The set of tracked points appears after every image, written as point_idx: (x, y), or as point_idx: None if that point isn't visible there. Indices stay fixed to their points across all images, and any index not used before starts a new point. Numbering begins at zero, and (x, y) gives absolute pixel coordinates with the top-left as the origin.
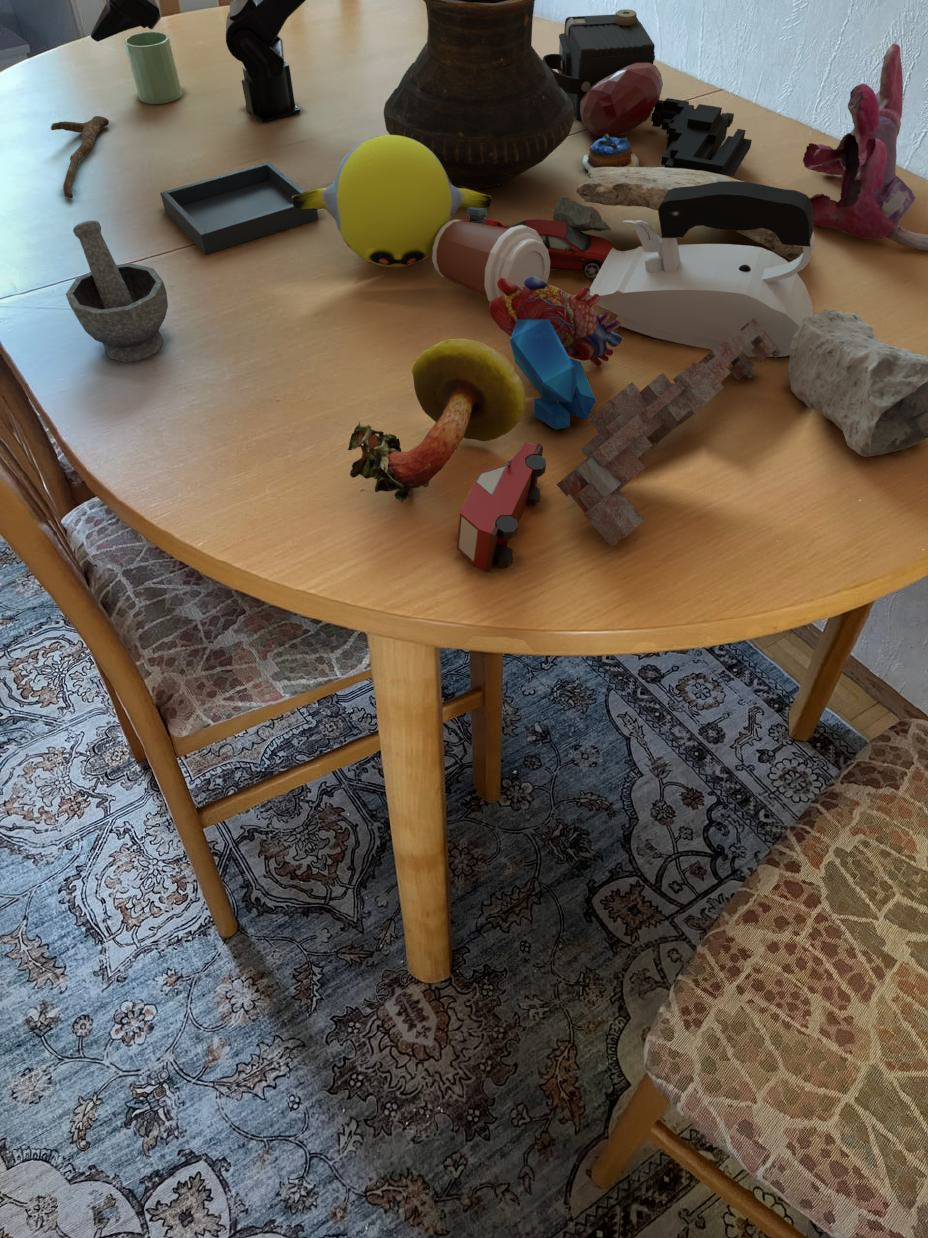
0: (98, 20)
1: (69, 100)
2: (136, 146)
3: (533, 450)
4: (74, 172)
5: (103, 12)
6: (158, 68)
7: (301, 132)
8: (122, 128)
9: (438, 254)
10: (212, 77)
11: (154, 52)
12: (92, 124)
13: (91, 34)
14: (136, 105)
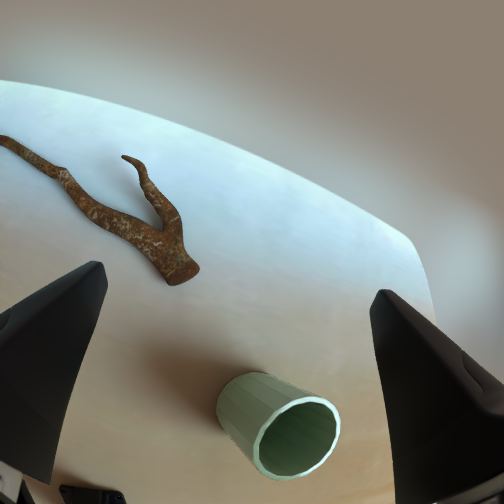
0: (45, 301)
1: (314, 267)
2: None
3: None
4: (26, 160)
5: (3, 329)
6: (234, 430)
7: None
8: (148, 301)
9: None
10: (274, 480)
11: (246, 443)
12: (156, 247)
13: (92, 263)
14: (236, 359)
